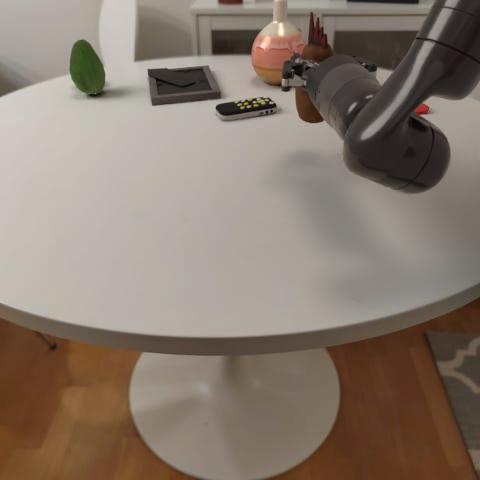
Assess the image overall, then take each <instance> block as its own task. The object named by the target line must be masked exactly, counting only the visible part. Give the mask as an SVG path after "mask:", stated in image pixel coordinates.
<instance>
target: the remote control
mask: <svg viewBox="0 0 480 480" xmlns="http://www.w3.org/2000/svg"><path fill="white" fill-rule="evenodd" d="M277 106H278V105H277V103H276V102H275V101H274V100H273V99H272V98H270V97H268V96H267V95H264V96H259V97H253V98H247V99H241V100H235V101H228V102H222V103H218V104H216V105H215V114H216V115H217V116H218V117H219V118H220V119H221V120H222V121H224V122H225V121H227V122H228V121H233V120H239V119H247V118H251V117H252V118H253V117H258V116H265V115H270V114H274V113H276V111H277Z"/></svg>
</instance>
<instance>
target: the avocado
mask: <svg viewBox="0 0 480 480" xmlns="http://www.w3.org/2000/svg"><path fill="white" fill-rule="evenodd" d="M70 51H71V52H70V58H69V69H68V70H69V74H70V78H71V81H72V82H73V83H74V86H75V87H76V89H78V90H79V91H80V92H82V93H84V94H87V93H90V94H95V93H99V92H100V93H102V91H103V90H104V88H105V86H106V71H105V68H104V67H105V66H104V64H103V62H102V61H101V59H100V57H99V55H98V54H97V53H96V51H95V49H94V47H93V46H92V44H91V43H90V42H89V41H87V40H86V39H84V38H82V39H78V40H76V41H75V42H74V43H73V45H72V47H71V50H70ZM100 93H99V94H100ZM90 94H89V95H90Z"/></svg>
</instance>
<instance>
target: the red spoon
mask: <svg viewBox="0 0 480 480" xmlns="http://www.w3.org/2000/svg"><path fill="white" fill-rule="evenodd" d="M429 110H430V107H429V105H427V104H426V103H422V104H421V105H420V106H419V107H418V108H417V109H416V110H415V111H414V112H415V113H417V114H419V115H420V116H423V115H424V116H425V115H428V113H429Z"/></svg>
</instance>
